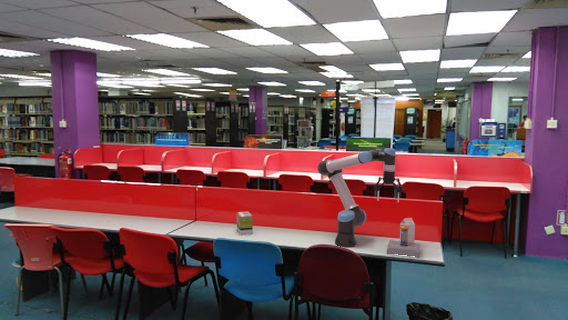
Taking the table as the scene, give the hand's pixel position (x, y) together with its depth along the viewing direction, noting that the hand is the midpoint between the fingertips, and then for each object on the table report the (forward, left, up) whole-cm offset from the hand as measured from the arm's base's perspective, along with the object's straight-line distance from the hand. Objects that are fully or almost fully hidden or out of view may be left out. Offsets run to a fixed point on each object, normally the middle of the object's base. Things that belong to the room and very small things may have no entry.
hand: (388, 201), depth 268 cm
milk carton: (+13, +14, -33) cm, 38 cm away
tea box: (-108, -5, -33) cm, 113 cm away
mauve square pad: (+12, -5, -33) cm, 35 cm away
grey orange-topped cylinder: (+12, -5, -33) cm, 35 cm away
